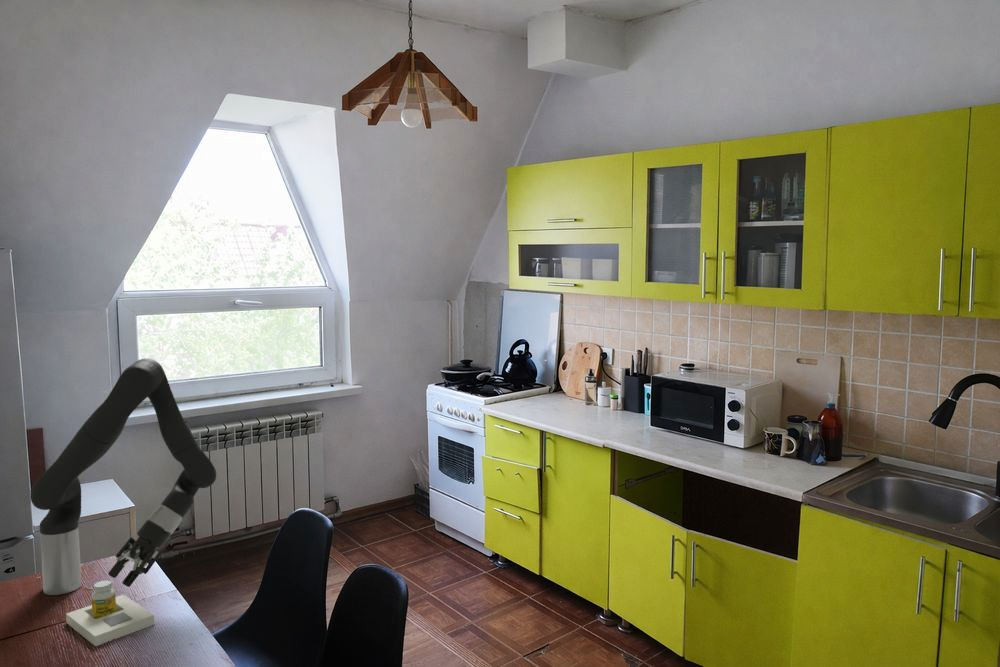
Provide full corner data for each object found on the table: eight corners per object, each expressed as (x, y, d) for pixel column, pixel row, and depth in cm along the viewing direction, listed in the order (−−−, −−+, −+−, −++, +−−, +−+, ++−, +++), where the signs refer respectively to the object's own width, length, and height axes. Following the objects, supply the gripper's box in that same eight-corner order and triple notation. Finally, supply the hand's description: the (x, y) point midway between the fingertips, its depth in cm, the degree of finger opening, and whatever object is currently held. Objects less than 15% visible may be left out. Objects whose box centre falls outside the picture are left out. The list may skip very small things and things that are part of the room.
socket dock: (66, 623, 182) (66, 612, 182) (123, 603, 193) (123, 593, 193) (95, 646, 171) (94, 635, 170) (154, 624, 181) (154, 614, 181)
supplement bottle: (115, 612, 188) (113, 577, 187) (117, 620, 183) (115, 584, 182) (91, 618, 185) (90, 582, 184) (93, 626, 180) (91, 589, 179)
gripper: (138, 513, 196) (95, 567, 188) (162, 524, 187) (118, 581, 179) (158, 527, 201) (117, 580, 193) (183, 538, 192) (141, 594, 184)
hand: (118, 580), depth 186 cm, fingers open, 8 cm apart
